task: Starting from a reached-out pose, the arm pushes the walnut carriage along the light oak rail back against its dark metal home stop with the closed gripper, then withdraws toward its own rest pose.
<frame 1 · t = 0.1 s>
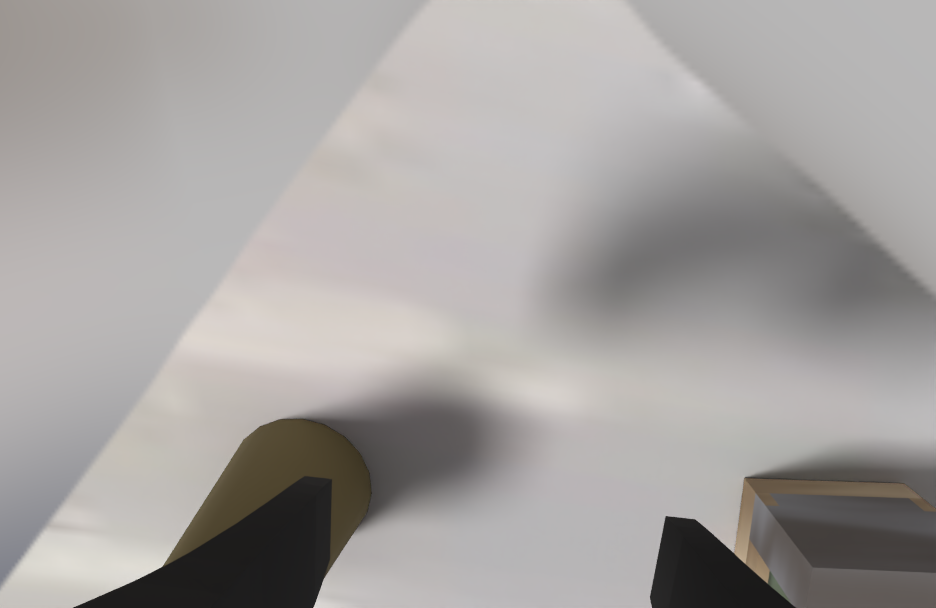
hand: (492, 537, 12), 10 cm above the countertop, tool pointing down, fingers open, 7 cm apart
cork: (302, 481, 23), on the countertop
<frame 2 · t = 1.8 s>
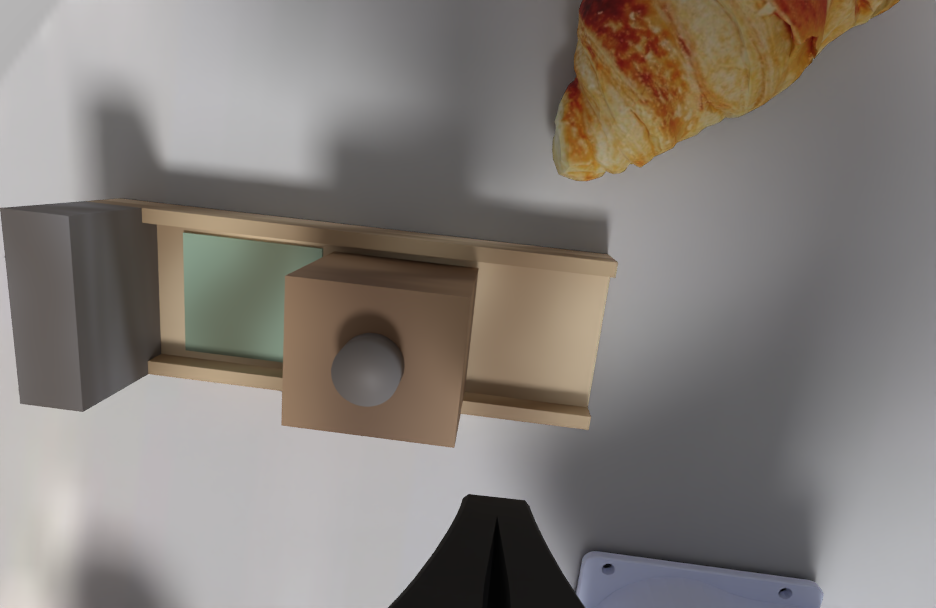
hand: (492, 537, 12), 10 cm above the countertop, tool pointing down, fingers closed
carriage: (385, 343, 17), point 4 cm above the countertop, slide at 5.5 cm
rail: (355, 305, 21), on the countertop
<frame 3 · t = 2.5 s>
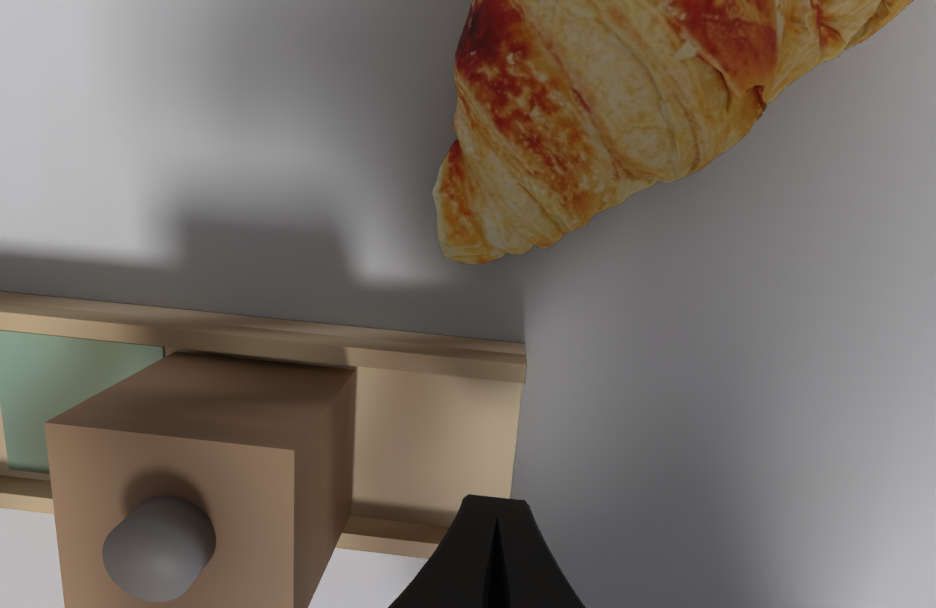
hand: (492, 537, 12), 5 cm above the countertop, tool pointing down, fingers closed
carriage: (218, 485, 13), point 4 cm above the countertop, slide at 5.5 cm
rail: (219, 407, 17), on the countertop
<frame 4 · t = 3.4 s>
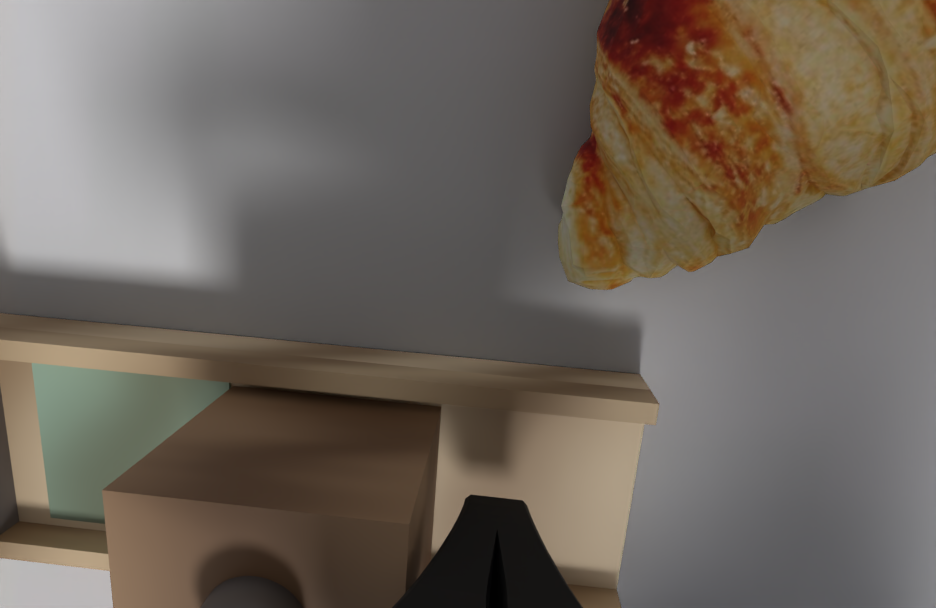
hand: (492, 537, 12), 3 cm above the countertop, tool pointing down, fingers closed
carriage: (295, 549, 11), point 4 cm above the countertop, slide at 5.2 cm, touching gripper
rail: (287, 446, 15), on the countertop
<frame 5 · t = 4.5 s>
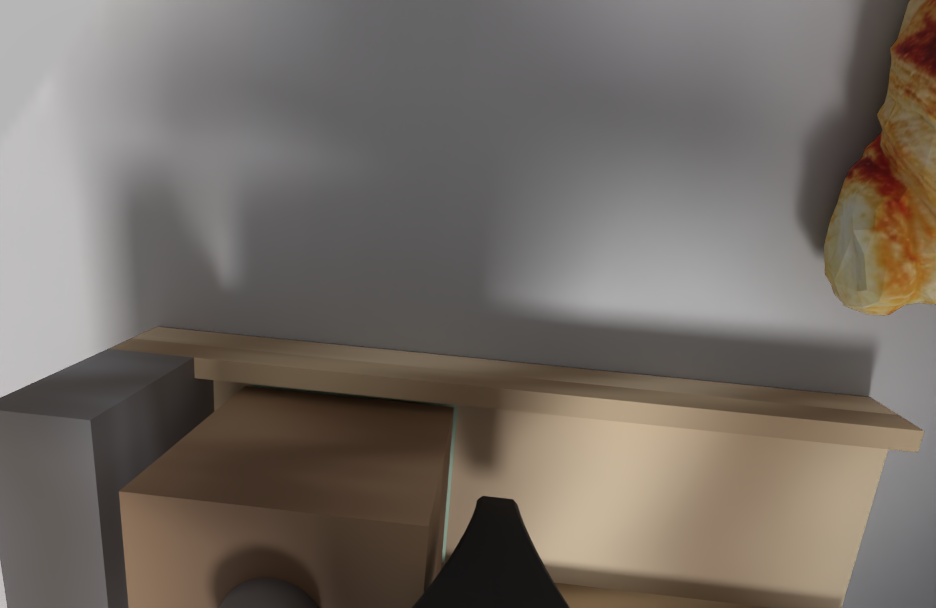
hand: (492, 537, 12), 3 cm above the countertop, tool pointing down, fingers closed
carriage: (309, 551, 11), point 4 cm above the countertop, slide at -0.1 cm, touching gripper
rail: (492, 467, 15), on the countertop
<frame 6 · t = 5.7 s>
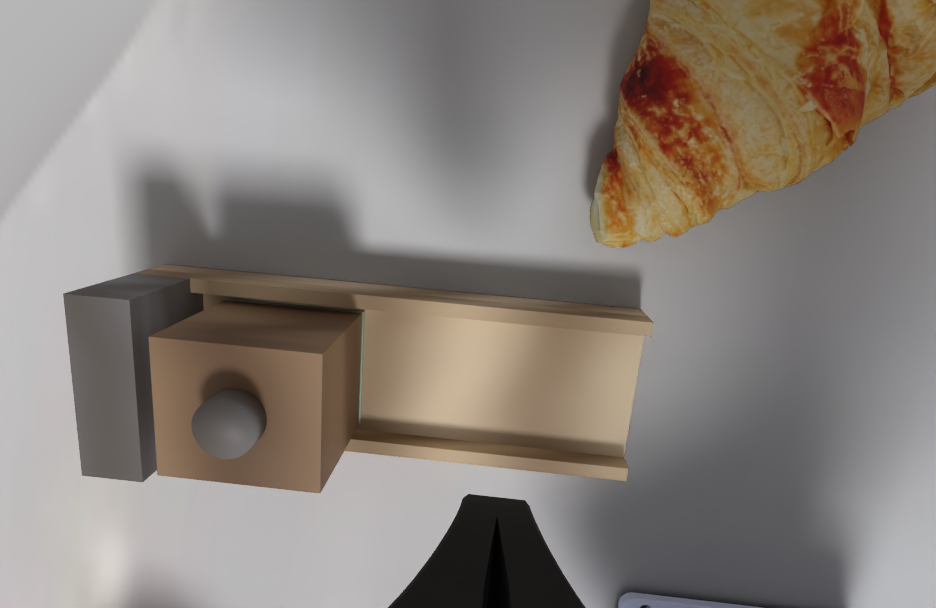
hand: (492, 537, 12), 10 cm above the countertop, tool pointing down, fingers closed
carriage: (263, 392, 18), point 4 cm above the countertop, slide at 0.0 cm
rail: (394, 361, 21), on the countertop
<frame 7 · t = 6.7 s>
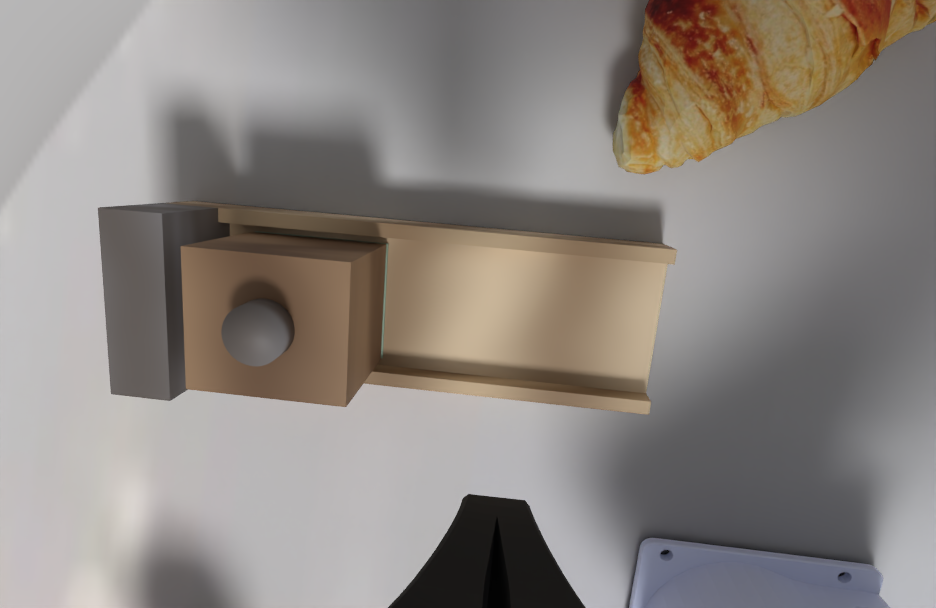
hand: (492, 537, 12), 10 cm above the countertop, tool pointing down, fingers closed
carriage: (289, 313, 18), point 4 cm above the countertop, slide at 0.0 cm
rail: (416, 298, 22), on the countertop
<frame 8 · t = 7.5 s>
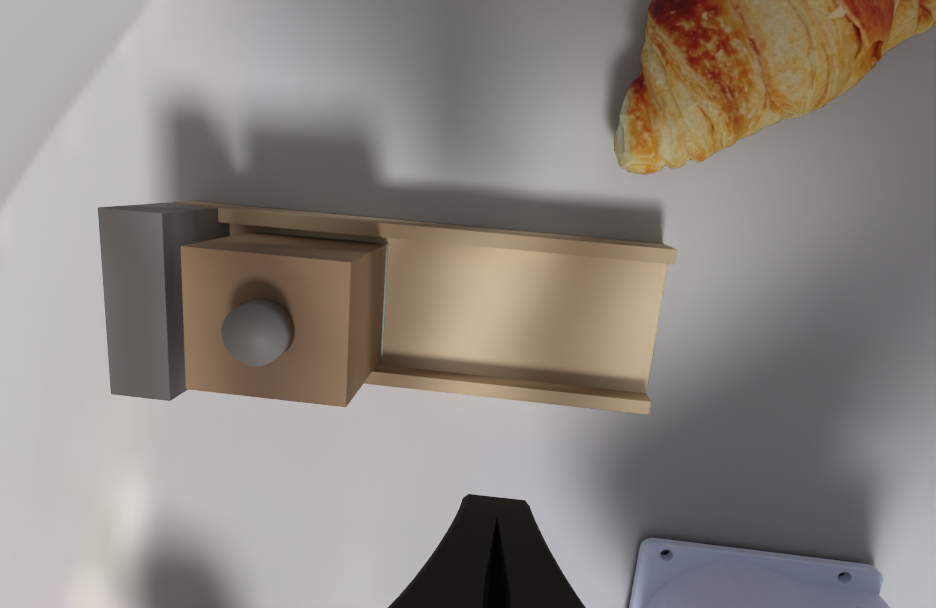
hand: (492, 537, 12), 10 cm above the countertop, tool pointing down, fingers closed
carriage: (289, 313, 18), point 4 cm above the countertop, slide at 0.0 cm
rail: (416, 298, 22), on the countertop
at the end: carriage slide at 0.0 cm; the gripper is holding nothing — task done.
